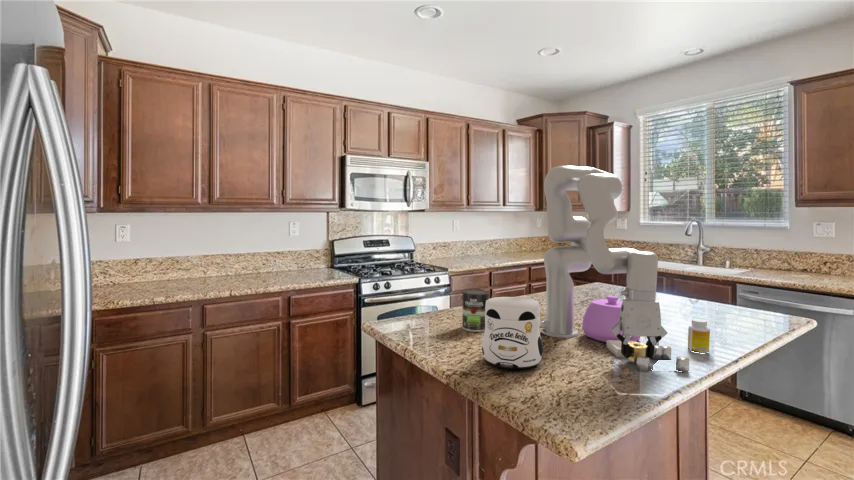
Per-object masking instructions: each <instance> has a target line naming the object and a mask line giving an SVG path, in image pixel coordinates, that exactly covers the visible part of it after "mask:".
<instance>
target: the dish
mask: <svg viewBox="0 0 854 480" xmlns="http://www.w3.org/2000/svg"><path fill="white" fill-rule="evenodd" d="M629 342H638V341H631V340H629ZM629 342H628V343H629ZM621 343H622V342H621V341H620V340H607V342H606V349H607V350H608V351H610V352H611V353H612V354H613V355H614V356H615V355H616V356H615V357H616V358H618V357H624V356H623V355H622V353H621Z"/></svg>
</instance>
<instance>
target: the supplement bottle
mask: <svg viewBox="0 0 854 480" xmlns="http://www.w3.org/2000/svg"><path fill="white" fill-rule="evenodd" d="M710 332H711V330H710V327H709V326H708V322H707V320H705V319H701V318H692V319H691V324H689V325H688V330H687V335H688V336H687V351H688V350H690V351H694V352H699V353H707V352H709V353H710V335H711V333H710ZM690 351H689V352H690Z"/></svg>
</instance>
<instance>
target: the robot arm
mask: <svg viewBox="0 0 854 480" xmlns="http://www.w3.org/2000/svg"><path fill="white" fill-rule="evenodd" d="M622 189H623V184H622V181H621V179H620V178H619V177H618V176H617V175H616V174H613V173H610V172H607V171H605V170H601V169H598V168H595V167H593V166H592V167H591V166H582V165H580V166H578V165H577V166H576V165H558V166H555V167H552V168H550V170H549V171H548V172H547V173H546V175H545V178H544V183H543V190H544V191H543V192H544V196H545V200H546V217H547V219H546V221H547V222H546V223H547V224H546V225H547V235H548V239H549V240H550V241H552V242H553V243H571V244H570V246H569V245H562V246H561V245H559V246H553V247H551V248H549V249H547V250H546V251H545V253H544V257H543V265H544V271H545V278H546V281H545V282H546V283H545V284H546V294H545V295H546V298H545V299H546V300H545V302H546V303H545V305H546V306H545V318H544V319H543V320H540V329H541V333H542V334H543V335H545V336H548V337H554V338H561V339H563V338H564V339H566V338H567V339H568V338H575V337H577V336H578V335H579V331H578V330H577V329H576V328H574V322H575V321H574V320H575V317H574V315H575V283H574V281H573V278H572V276H571V274H570V273H581V272H585V271H588V270H589V269H590V268H591V266H593V268H594V269H595V270H596V271H597V272H598V273H600V274H602V275H615V274H626V284H625V285H626V286H625V289H624V290H620V295H621V296H624V298H623V299H622V301H623V302H622V305H621V310H620V316H619V322H618V323H617V324H615V325H614V326H613V327H612V328H611V329H610V331H611V332H612V333H613V334H614V335H615V336H616V337H617V338H618V339H619V340H620V341H621V342H622V343H621V353H622V355H623V356H624V357H625V358H629V351H630V345H629V344H628V342H629V340H630V337H631V336H641V337H645V338H646V340H648V342H647V341H646V343H645V345H648V357H649V359H653V355H654V347H655V345H656V344H657V342H659V343H660V341H661V340H662V338H664V337H665V336H667V334H668V331H667V330H666V329H665V328H664V326H662V316H661V314H662V313H661V307H660V301H659V300H657V299H656V298H657V285H658V284H657V283H658V268H659V267H658V266H659V256H658V254H657V253H656V252H652V251H645V250H638V249H635V248H631V247H615V248H614V247H613V248H612V247H611V248H609V247H608V244H607V242H606V239H605V235H604V230H605V228H606V226H607V225H610V224H611V223H613V222H614V221H615V220H616V219H617V218H618V217H619V216H618V215H619V213H618V210H617V207H616V205H615V202H614V201H613V200H615V199H617V198H619V197H620V196H621V194H622V191H623V190H622ZM566 191H567V192H568V191H577V192H578V195H579V196H580V199H581V202H582V205H583V207H584V209H585V212H586V215H587V218H588V219H587V218H586V217H583V216H580V215H579V216H578V215H573V205H572V202H571V199H570V196H569V195H568V194H567V192H566ZM618 330H620V331H623V333H622V335H621V334H620V333H619V332H618ZM641 337H640V338H641Z"/></svg>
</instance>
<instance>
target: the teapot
mask: <svg viewBox="0 0 854 480" xmlns="http://www.w3.org/2000/svg"><path fill="white" fill-rule="evenodd" d="M622 302H623V300H619V297H618V296H615V295H607V296H606V298H601V299H596V300H591V301H590V302H589V304H588V306H587V308H586V310H585V313H584V315H583V320H582V325H581V328H582V331H583V333H584V334H585V336H586V337H588V338H591V339H593V340H597V341H598V342H599V341H600V342H603V343H607V340H619V339H618V338H617V337H616V336H615V335H614V334H613V333H612V332H611V331H610V329H611V328H612V327H613V326H614V325H615V324H617V323H618V322H619V316H620V310H621V305H622ZM618 332H619V333H620V334H621V335H622V333H623V331H620V330H618ZM640 338H641V336H631V337H630V340H631V341H637V342H638V341H639V339H640Z"/></svg>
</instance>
